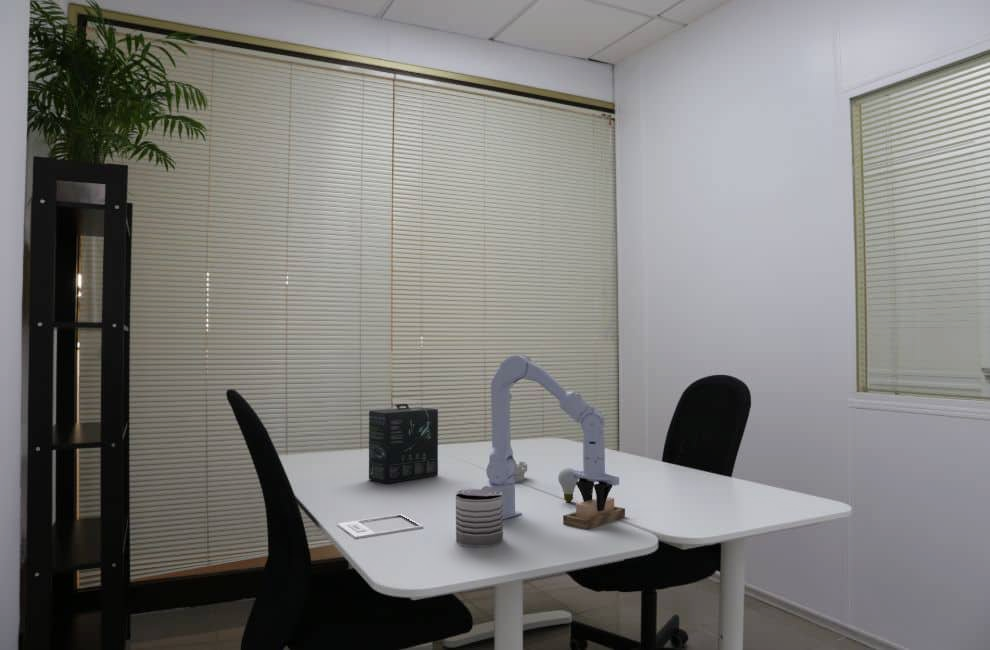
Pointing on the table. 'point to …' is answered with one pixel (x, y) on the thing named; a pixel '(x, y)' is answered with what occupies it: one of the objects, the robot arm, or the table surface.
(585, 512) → the block
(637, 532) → the table surface
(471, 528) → the can
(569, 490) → the light bulb
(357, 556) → the table surface
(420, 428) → the headset box
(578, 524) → the wooden tray
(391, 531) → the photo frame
